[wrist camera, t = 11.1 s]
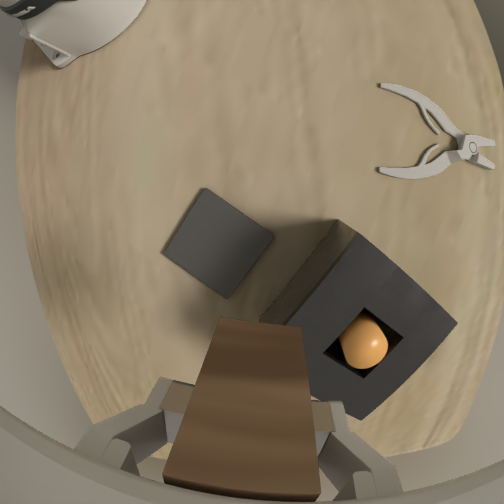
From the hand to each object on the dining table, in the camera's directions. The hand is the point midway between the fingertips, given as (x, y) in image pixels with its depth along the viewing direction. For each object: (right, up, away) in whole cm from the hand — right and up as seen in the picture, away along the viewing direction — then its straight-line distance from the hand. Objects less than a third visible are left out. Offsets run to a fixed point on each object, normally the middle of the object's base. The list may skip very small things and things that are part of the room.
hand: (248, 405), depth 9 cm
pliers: (+20, +17, +15) cm, 31 cm away
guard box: (+10, 0, +20) cm, 22 cm away
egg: (+10, -1, +17) cm, 20 cm away
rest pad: (-3, +6, +20) cm, 21 cm away
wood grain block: (0, +1, +3) cm, 4 cm away
